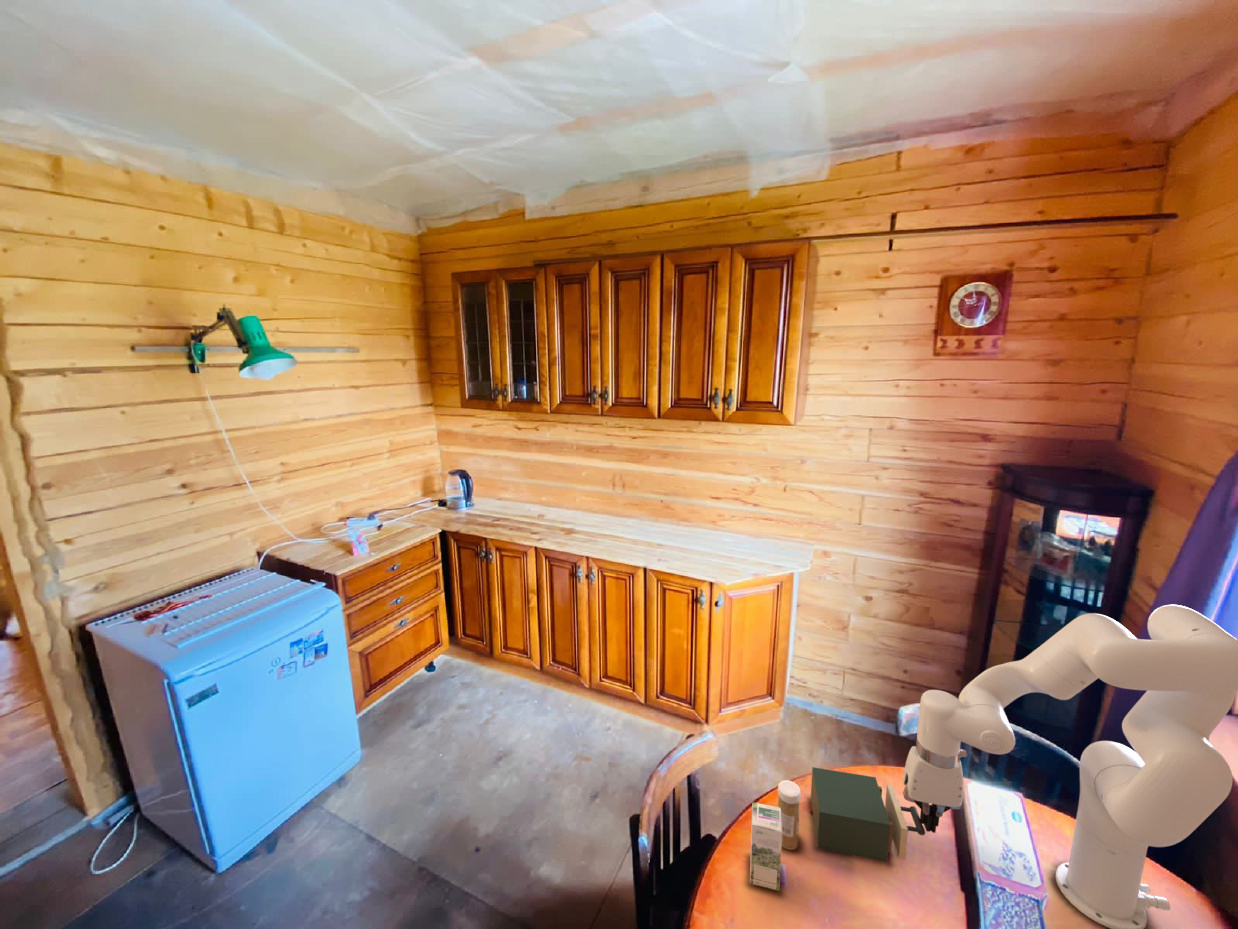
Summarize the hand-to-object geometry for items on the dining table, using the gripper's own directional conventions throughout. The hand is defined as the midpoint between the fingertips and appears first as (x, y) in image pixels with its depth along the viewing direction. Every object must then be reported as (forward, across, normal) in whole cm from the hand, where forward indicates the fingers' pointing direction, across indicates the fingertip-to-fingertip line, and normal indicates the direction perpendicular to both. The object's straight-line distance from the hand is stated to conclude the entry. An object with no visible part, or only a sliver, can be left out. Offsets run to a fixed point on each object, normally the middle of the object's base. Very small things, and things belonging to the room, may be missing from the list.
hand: (928, 826), depth 107 cm
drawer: (+4, +10, 0) cm, 11 cm away
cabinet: (+5, +16, 0) cm, 17 cm away
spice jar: (+5, +29, +6) cm, 30 cm away
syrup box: (+5, +34, +15) cm, 38 cm away
